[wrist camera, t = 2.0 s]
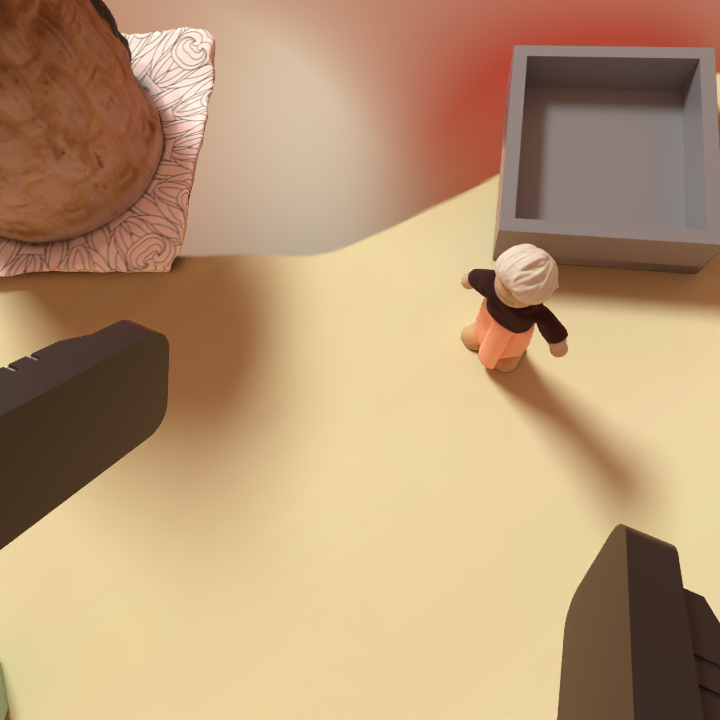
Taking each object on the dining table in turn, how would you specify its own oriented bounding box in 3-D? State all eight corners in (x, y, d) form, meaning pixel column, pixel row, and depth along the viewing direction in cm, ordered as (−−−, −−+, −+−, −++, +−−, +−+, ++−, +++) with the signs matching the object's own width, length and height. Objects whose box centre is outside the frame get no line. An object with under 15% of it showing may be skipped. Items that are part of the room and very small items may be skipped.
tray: (690, 90, 44) (714, 47, 40) (696, 273, 39) (724, 244, 35) (507, 86, 46) (514, 45, 42) (492, 258, 41) (498, 230, 38)
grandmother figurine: (437, 345, 40) (439, 259, 28) (464, 302, 41) (478, 200, 29) (536, 399, 38) (584, 331, 26) (563, 353, 39) (622, 266, 27)
